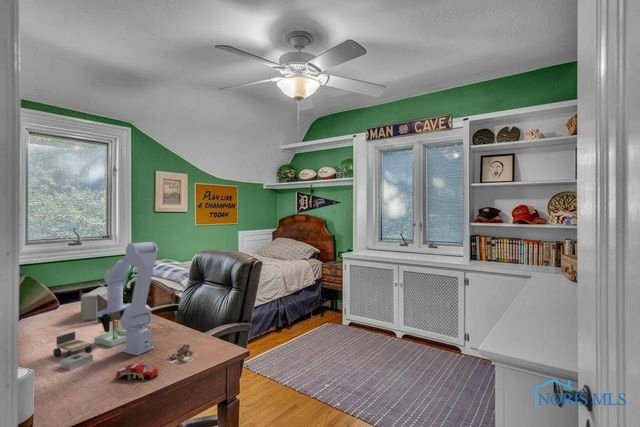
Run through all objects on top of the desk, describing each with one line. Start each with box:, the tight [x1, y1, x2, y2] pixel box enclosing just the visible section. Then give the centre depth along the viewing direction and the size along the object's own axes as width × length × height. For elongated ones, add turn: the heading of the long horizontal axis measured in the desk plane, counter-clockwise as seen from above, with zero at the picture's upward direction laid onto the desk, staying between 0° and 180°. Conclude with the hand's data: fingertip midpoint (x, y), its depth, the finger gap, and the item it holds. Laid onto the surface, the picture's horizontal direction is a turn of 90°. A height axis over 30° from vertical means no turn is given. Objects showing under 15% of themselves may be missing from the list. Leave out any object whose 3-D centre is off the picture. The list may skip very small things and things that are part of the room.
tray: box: [94, 328, 126, 348], centre depth 150 cm, size 11×11×2 cm
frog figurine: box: [166, 343, 198, 365], centre depth 133 cm, size 12×12×4 cm
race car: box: [115, 363, 159, 381], centre depth 118 cm, size 13×5×4 cm, turn 91°
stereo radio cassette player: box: [80, 281, 107, 322], centre depth 185 cm, size 21×8×20 cm, turn 10°
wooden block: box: [96, 294, 121, 324], centre depth 176 cm, size 4×11×18 cm, turn 134°
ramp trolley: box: [52, 331, 94, 358], centre depth 136 cm, size 10×9×7 cm
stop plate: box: [59, 351, 94, 371], centre depth 127 cm, size 6×8×2 cm
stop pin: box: [111, 319, 119, 340], centre depth 149 cm, size 2×2×8 cm
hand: (115, 328), depth 149 cm, fingers open, 7 cm apart
